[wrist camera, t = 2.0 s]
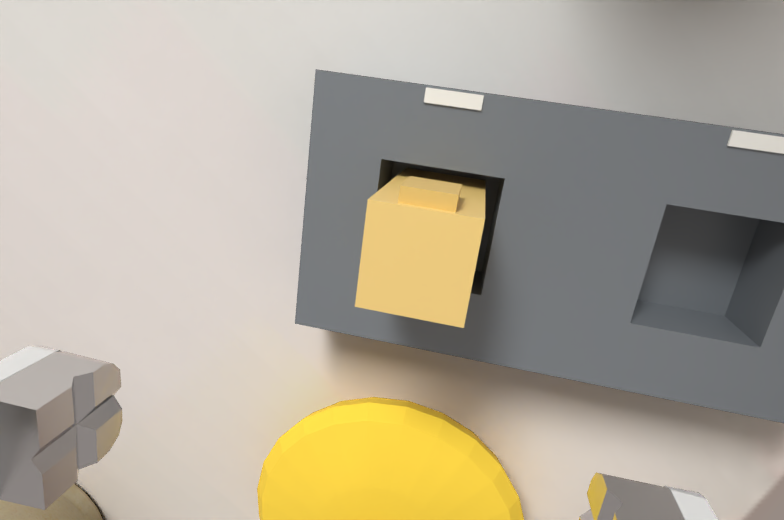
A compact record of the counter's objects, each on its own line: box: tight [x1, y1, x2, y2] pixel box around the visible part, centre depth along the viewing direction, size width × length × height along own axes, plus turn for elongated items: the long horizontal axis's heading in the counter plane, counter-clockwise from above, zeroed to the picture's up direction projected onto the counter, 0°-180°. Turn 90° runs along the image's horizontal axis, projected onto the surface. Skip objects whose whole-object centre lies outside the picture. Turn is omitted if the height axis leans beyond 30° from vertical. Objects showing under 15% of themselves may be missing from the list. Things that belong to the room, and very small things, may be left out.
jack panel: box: [295, 70, 784, 423], centre depth 24 cm, size 12×24×4 cm, turn 82°
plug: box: [355, 168, 486, 328], centre depth 22 cm, size 5×4×9 cm
